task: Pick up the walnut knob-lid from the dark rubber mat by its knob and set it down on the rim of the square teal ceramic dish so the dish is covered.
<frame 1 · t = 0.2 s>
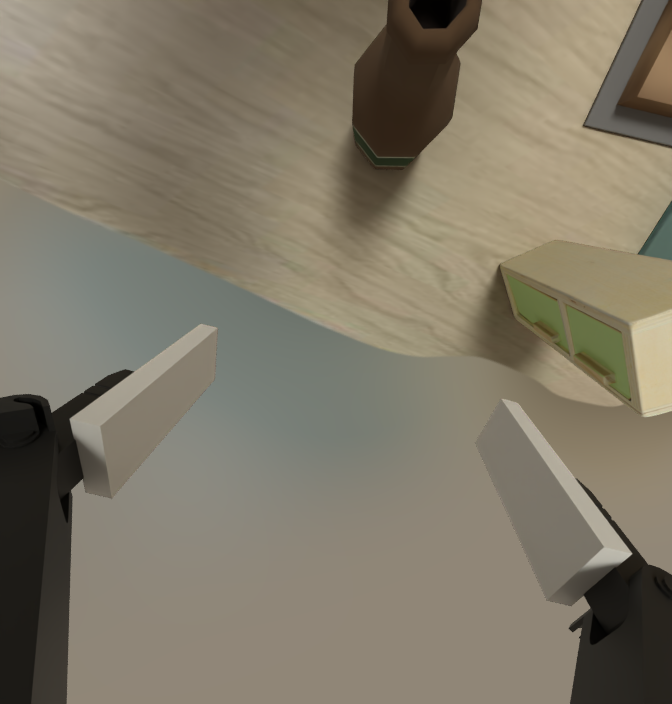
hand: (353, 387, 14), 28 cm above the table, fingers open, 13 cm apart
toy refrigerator: (529, 281, 38), on the table
beer bottle: (390, 131, 32), on the table
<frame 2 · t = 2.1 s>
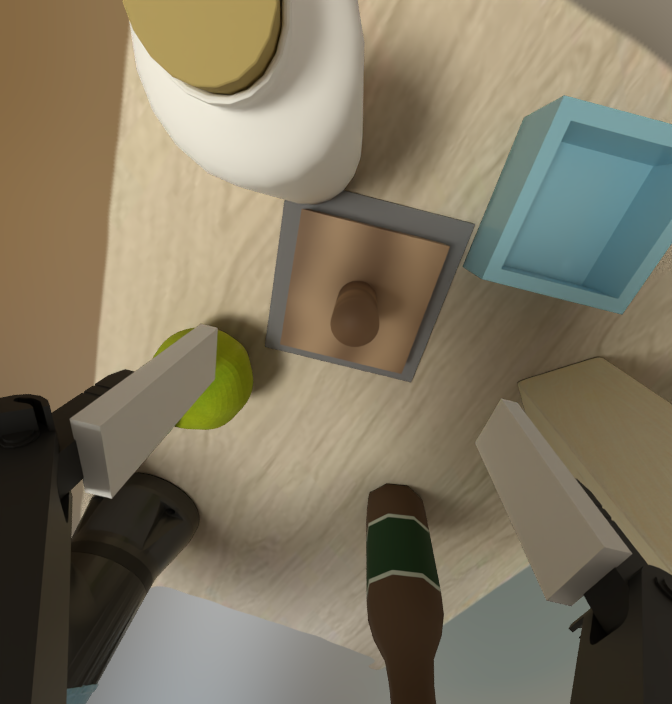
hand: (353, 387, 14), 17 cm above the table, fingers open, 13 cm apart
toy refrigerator: (560, 396, 32), on the table
mat: (357, 291, 29), on the table
lid cover: (357, 292, 29), resting on mat
dish: (554, 216, 25), on the table
potion bottle: (310, 147, 24), on the table, touching mat
fruit: (225, 354, 33), on the table
beer bottle: (393, 500, 41), on the table
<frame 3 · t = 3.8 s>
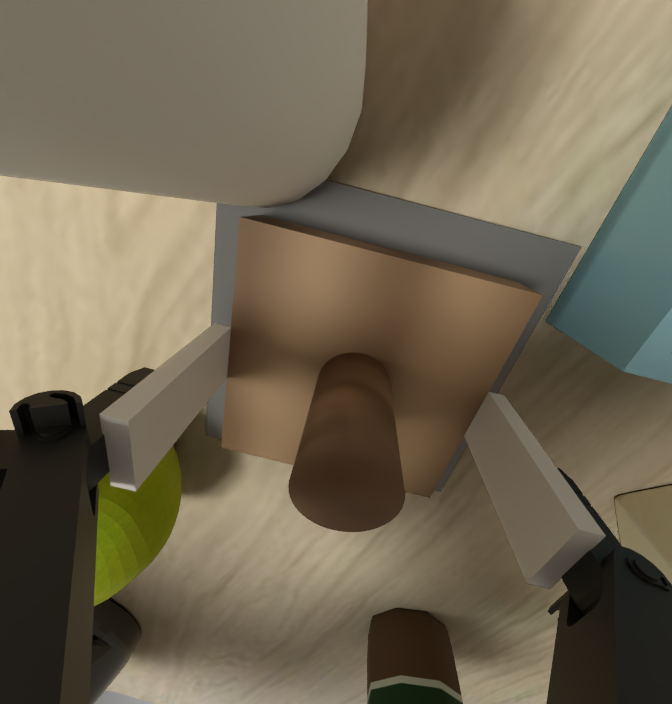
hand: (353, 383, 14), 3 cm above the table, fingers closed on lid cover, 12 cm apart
mat: (355, 357, 17), on the table
lid cover: (355, 360, 16), resting on mat, touching gripper
potion bottle: (260, 93, 12), on the table, touching mat
fruit: (147, 441, 21), on the table
beer bottle: (405, 625, 29), on the table
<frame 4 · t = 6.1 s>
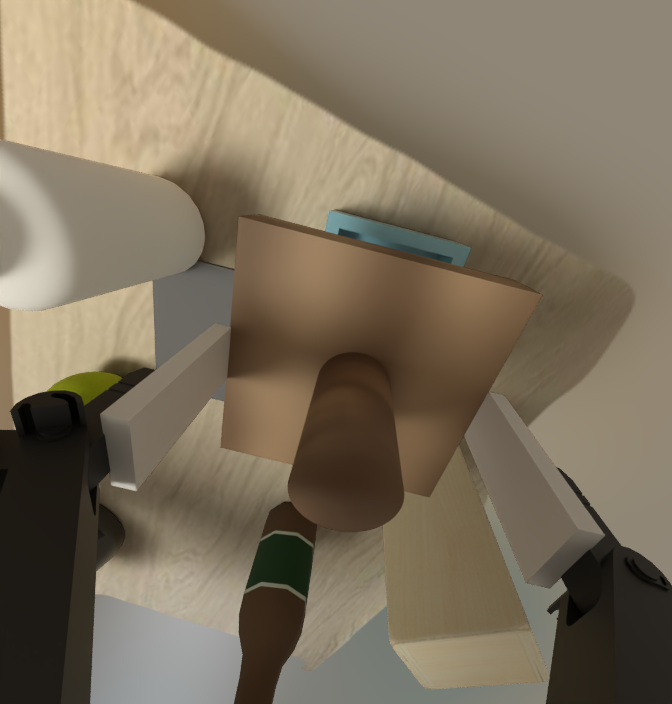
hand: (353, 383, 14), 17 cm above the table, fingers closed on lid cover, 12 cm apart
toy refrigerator: (416, 428, 37), on the table
mat: (227, 341, 33), on the table
lid cover: (354, 360, 16), point 15 cm above the table, touching gripper
dish: (376, 284, 29), on the table
potion bottle: (167, 227, 29), on the table, touching mat
fruit: (125, 390, 38), on the table
beer bottle: (294, 516, 46), on the table
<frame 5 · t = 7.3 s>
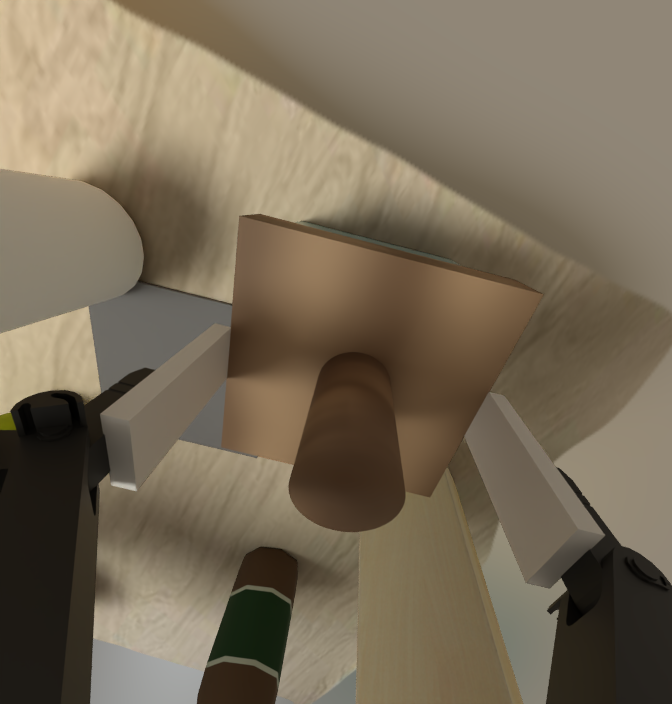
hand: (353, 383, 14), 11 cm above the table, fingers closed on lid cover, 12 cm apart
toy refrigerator: (408, 472, 31), on the table
mat: (183, 374, 28), on the table
lid cover: (355, 360, 16), point 8 cm above the table, touching gripper
dish: (356, 311, 24), on the table
potion bottle: (99, 242, 23), on the table, touching mat
beer bottle: (272, 561, 40), on the table
when the fingers open (8 cm above the table, at t = 8.4 s): lid cover stays where it is, resting on dish.
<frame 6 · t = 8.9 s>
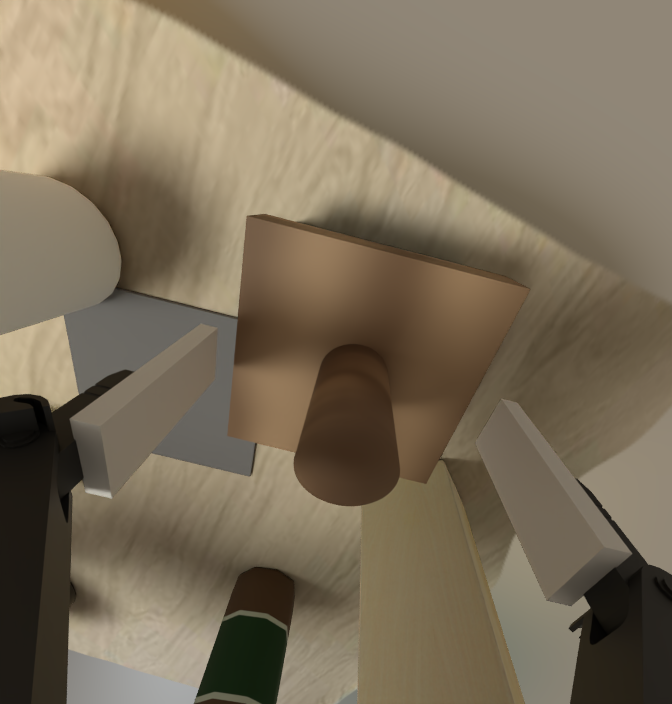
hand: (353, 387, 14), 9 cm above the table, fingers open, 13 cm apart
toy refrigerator: (412, 493, 29), on the table
mat: (169, 388, 26), on the table
lid cover: (354, 352, 17), point 5 cm above the table, touching dish
potion bottle: (73, 245, 21), on the table, touching mat
beer bottle: (268, 581, 38), on the table
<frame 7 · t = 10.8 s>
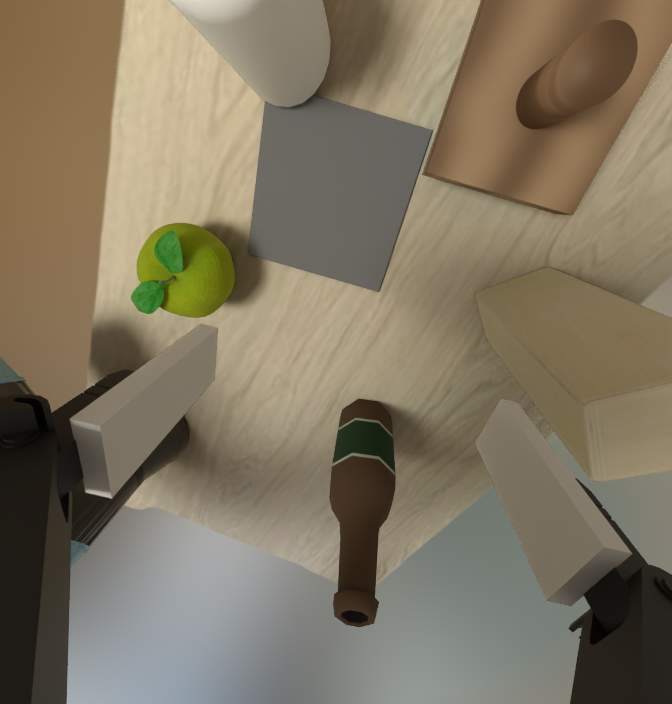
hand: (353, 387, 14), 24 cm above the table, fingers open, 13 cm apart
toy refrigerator: (514, 308, 35), on the table
mat: (329, 199, 32), on the table
lid cover: (526, 108, 23), point 5 cm above the table, touching dish
potion bottle: (286, 54, 27), on the table, touching mat
fruit: (212, 263, 37), on the table
beer bottle: (365, 418, 45), on the table
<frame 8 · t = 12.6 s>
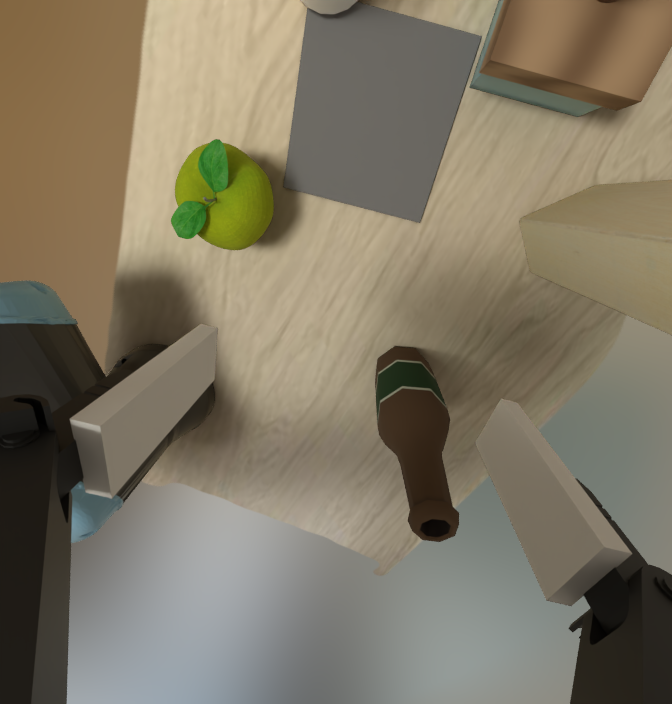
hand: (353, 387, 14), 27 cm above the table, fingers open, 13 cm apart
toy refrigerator: (559, 235, 34), on the table
mat: (371, 120, 31), on the table
dish: (554, 25, 27), on the table
fruit: (245, 201, 36), on the table
beer bottle: (400, 367, 43), on the table
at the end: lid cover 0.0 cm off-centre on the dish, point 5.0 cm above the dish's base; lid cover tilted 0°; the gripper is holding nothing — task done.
